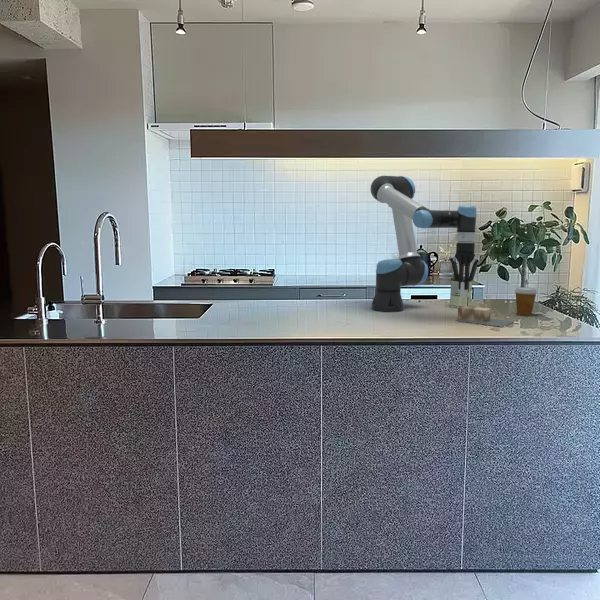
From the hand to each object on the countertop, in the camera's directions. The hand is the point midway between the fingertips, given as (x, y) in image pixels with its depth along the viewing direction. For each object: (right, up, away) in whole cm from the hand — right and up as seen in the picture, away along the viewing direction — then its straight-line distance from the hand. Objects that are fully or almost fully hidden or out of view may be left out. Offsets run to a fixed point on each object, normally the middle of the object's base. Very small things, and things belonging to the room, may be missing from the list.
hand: (463, 297), depth 243 cm
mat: (+8, -11, -4) cm, 14 cm away
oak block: (-1, -7, +2) cm, 7 cm away
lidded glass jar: (+8, -5, +34) cm, 35 cm away
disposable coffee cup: (+32, -8, +14) cm, 36 cm away
